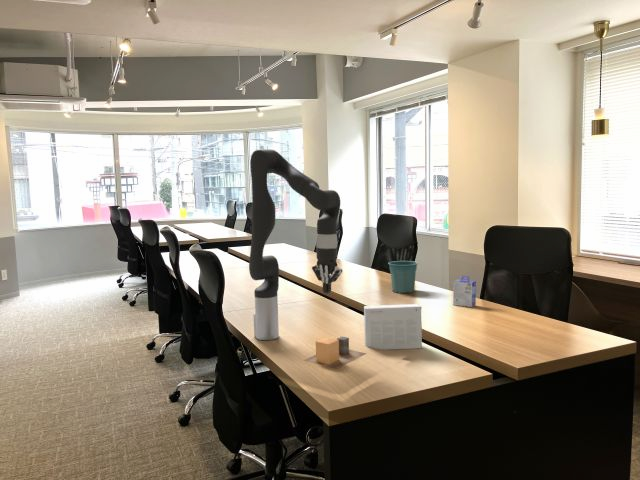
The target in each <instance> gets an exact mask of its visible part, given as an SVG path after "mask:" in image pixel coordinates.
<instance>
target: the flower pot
mask: <svg viewBox="0 0 640 480" xmlns="http://www.w3.org/2000/svg"><path fill="white" fill-rule="evenodd" d="M387 264H388V266H389V272H390V280H391V290H392V292H394V293H397V292H398V293H397V294H399V293H400V294H405V293H408V294H409V293H414V291H415V287H416V286H415V285H416V276H417V275H416V274H417V269H418V268H417V267H418V262H417V261H413V260H397V261H396V260H395V261H390V262H388V263H387Z"/></svg>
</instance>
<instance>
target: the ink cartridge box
mask: <svg viewBox="0 0 640 480" xmlns="http://www.w3.org/2000/svg"><path fill="white" fill-rule="evenodd" d="M452 287H453V290H452V291H453V293H452V295H453V296H452V298H453V299H452V305H453V306H460V307H466V306H467V307H466V308H468V307H469V308H473V307H476V306H477V303H476V302H477V301H476V299H477V281H475V280H470V276H469V275H462V277H461V279H456V280H453V286H452ZM475 305H476V306H475Z"/></svg>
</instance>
